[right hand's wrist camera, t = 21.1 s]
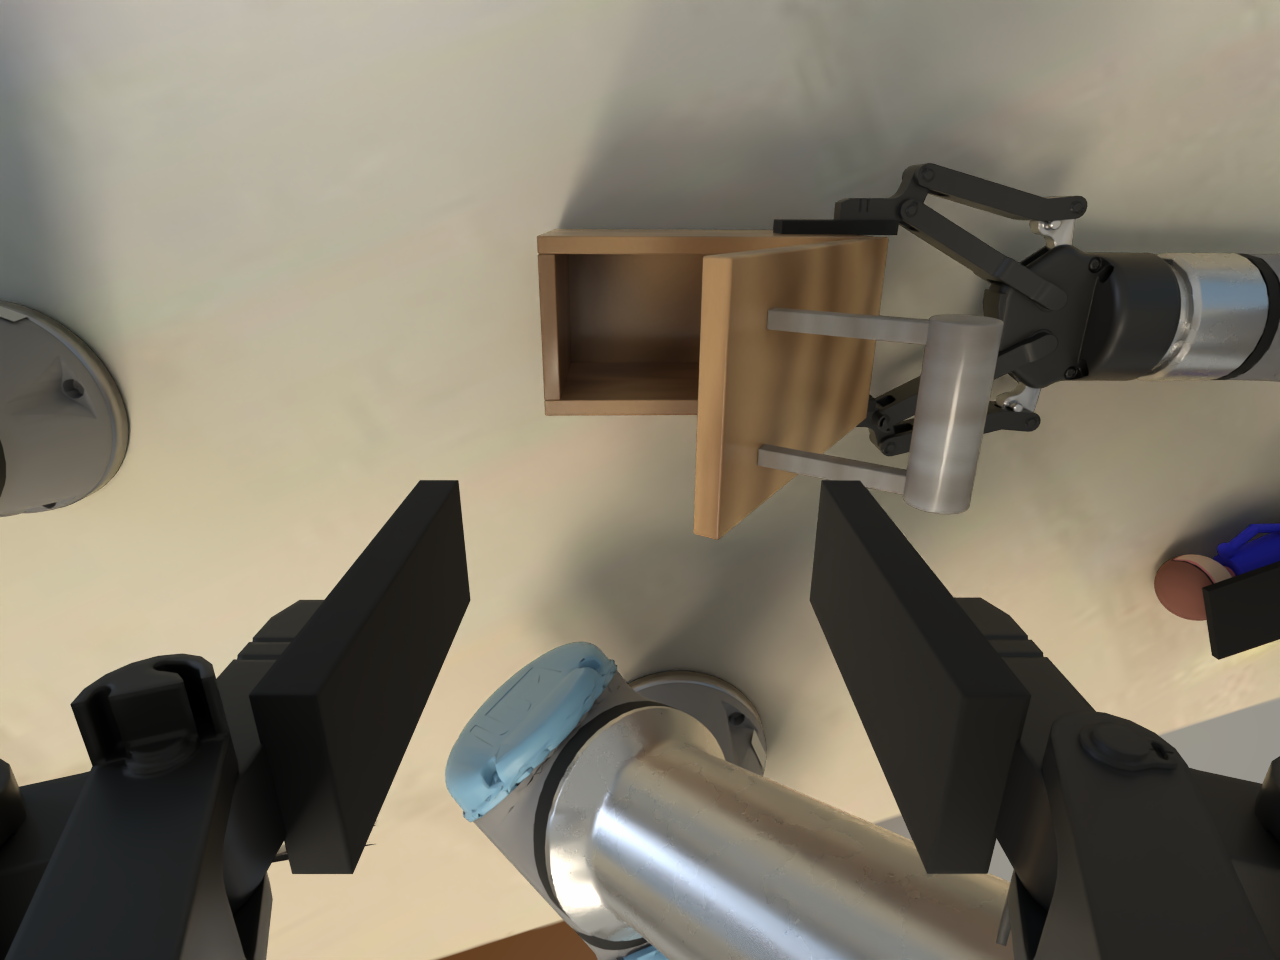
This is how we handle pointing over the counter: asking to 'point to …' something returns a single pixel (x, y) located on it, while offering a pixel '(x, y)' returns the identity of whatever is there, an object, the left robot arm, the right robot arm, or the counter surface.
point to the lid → (825, 380)
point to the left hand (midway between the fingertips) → (771, 317)
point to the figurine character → (1229, 590)
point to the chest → (631, 315)
